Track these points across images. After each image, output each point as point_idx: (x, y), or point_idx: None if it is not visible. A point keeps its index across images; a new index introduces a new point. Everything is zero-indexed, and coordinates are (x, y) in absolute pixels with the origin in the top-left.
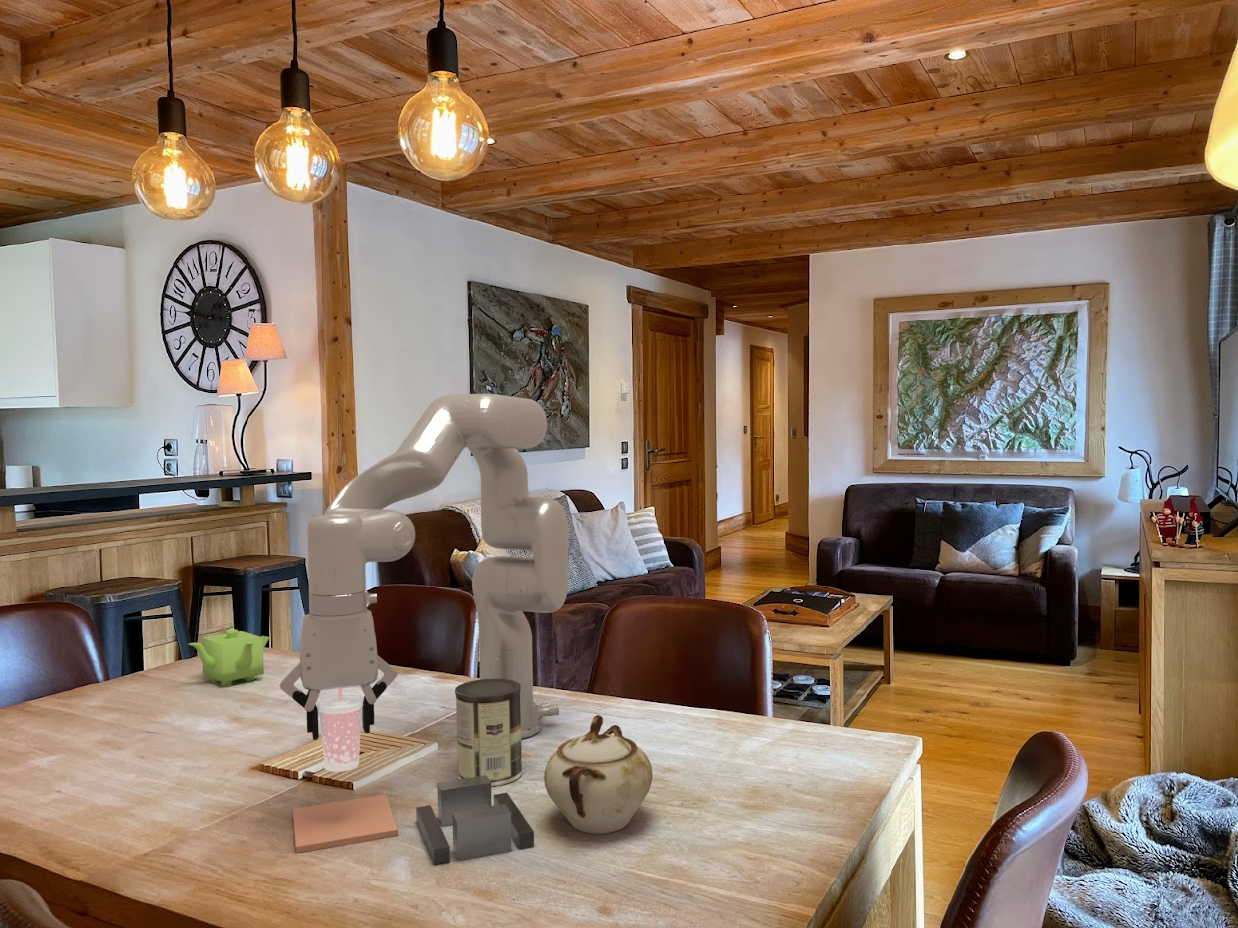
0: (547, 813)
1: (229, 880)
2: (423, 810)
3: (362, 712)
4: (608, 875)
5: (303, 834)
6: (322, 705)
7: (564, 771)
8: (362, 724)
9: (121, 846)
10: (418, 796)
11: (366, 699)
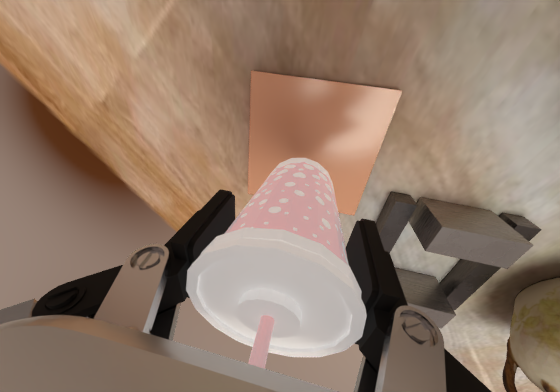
0: (537, 258)
1: (197, 205)
2: (398, 214)
3: (361, 260)
4: (450, 343)
5: (257, 169)
6: (206, 298)
7: (549, 389)
8: (358, 224)
9: (66, 63)
10: (453, 106)
11: (366, 352)
